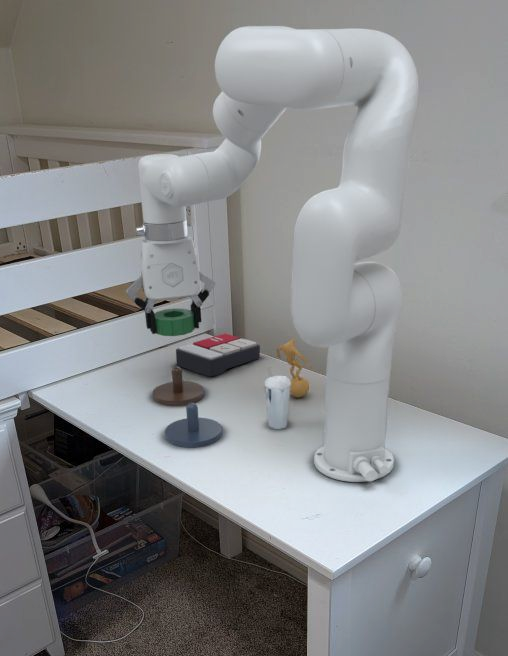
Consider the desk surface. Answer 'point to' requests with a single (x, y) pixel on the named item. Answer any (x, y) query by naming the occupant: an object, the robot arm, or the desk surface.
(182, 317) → the ring
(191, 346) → the calculator
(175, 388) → the walnut peg
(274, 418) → the milkshake
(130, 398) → the desk surface
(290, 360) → the figurine
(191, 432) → the slate peg
